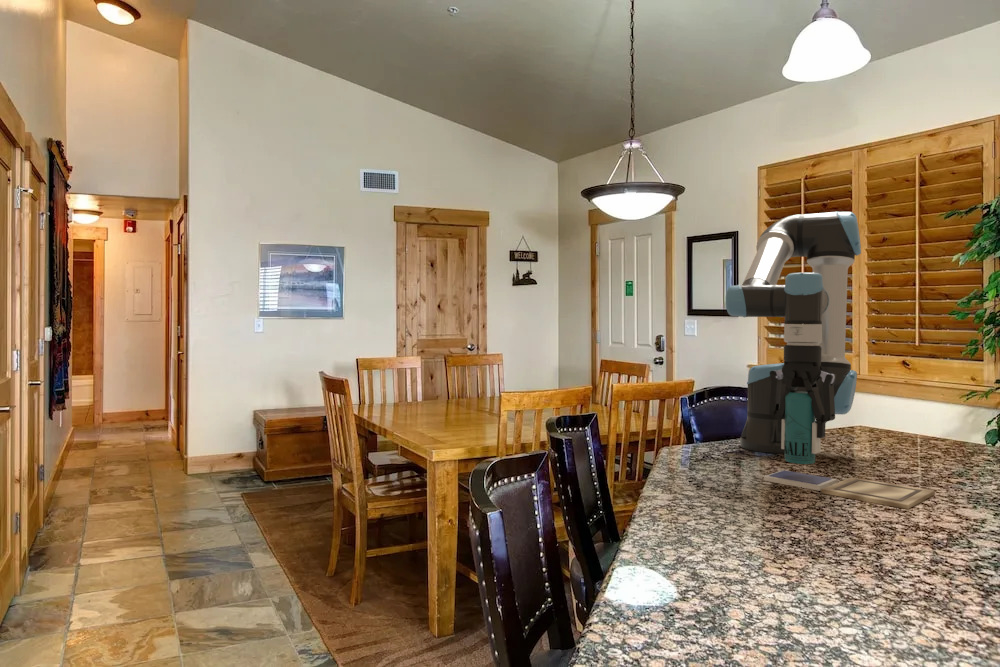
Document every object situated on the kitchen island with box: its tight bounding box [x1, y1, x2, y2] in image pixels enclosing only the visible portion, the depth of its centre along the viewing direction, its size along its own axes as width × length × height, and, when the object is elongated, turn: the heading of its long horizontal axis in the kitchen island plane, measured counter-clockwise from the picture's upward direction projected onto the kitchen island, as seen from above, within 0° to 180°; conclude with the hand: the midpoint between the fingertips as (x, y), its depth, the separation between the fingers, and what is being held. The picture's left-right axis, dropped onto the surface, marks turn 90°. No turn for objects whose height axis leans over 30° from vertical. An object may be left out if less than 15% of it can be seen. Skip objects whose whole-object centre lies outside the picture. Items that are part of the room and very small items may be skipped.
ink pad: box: [763, 469, 838, 492], centre depth 152 cm, size 12×9×1 cm
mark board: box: [820, 476, 935, 510], centre depth 143 cm, size 16×16×1 cm
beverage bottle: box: [783, 377, 817, 465], centre depth 152 cm, size 6×7×20 cm
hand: (800, 450), depth 152 cm, fingers closed on beverage bottle, 6 cm apart
